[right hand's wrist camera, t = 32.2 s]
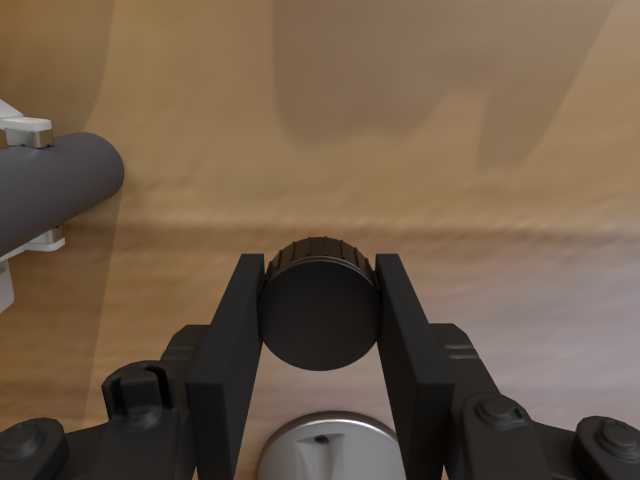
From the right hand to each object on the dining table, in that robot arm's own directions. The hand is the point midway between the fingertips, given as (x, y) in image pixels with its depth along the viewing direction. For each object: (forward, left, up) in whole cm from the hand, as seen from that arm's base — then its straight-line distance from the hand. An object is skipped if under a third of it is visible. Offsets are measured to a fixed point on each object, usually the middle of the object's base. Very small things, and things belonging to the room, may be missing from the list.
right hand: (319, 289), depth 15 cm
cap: (0, 0, +2) cm, 2 cm away
